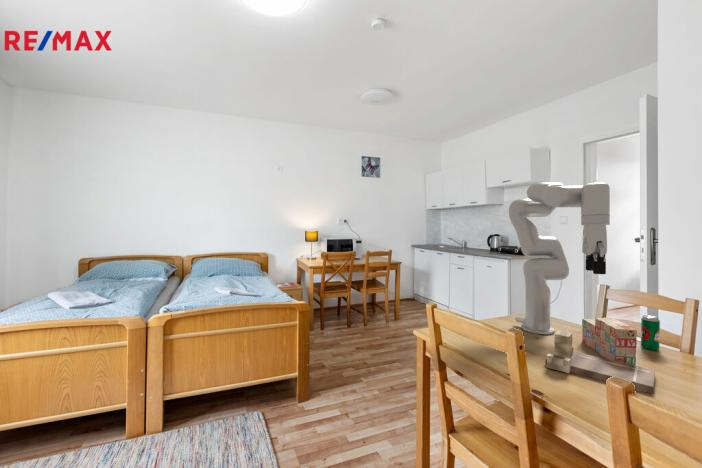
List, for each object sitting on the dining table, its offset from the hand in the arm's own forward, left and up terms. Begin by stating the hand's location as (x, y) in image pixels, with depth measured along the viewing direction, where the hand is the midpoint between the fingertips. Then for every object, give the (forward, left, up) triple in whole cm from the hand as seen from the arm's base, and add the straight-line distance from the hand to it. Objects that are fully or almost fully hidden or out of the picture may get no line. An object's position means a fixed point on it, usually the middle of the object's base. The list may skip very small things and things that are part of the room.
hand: (595, 272), depth 106 cm
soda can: (+13, +29, -31) cm, 44 cm away
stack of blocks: (+2, +14, -31) cm, 34 cm away
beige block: (-7, -8, -30) cm, 32 cm away
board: (+2, -6, -31) cm, 31 cm away
